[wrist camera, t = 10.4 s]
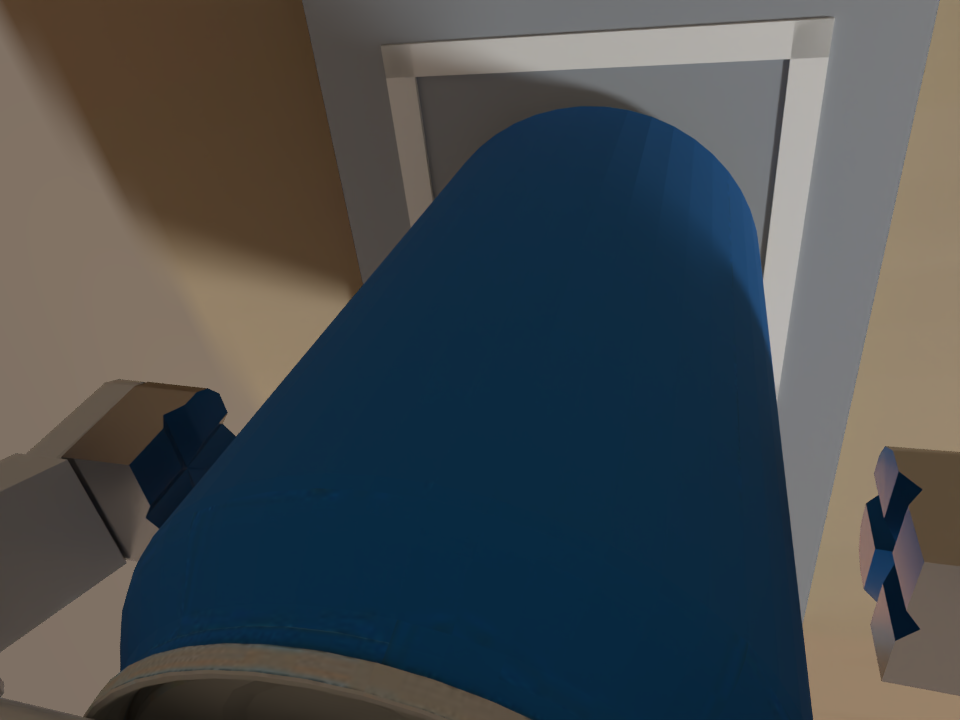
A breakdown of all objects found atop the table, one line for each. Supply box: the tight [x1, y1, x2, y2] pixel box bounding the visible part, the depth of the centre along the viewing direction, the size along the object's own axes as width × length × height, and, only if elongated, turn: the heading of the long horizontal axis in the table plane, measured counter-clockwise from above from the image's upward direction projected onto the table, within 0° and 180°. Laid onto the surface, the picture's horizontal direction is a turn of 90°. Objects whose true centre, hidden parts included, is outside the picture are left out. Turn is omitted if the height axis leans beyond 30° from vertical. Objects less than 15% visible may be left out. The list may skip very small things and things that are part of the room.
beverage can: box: [84, 106, 813, 720], centre depth 11 cm, size 6×6×12 cm
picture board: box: [302, 0, 940, 624], centre depth 17 cm, size 18×11×1 cm, turn 6°
